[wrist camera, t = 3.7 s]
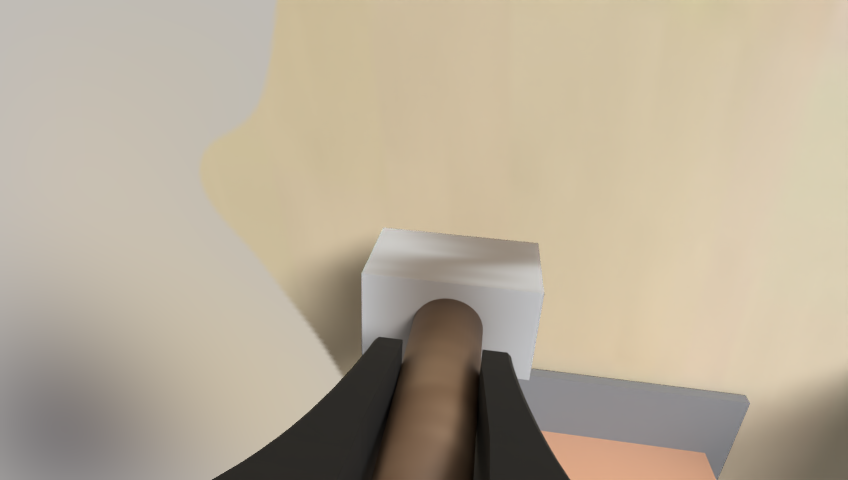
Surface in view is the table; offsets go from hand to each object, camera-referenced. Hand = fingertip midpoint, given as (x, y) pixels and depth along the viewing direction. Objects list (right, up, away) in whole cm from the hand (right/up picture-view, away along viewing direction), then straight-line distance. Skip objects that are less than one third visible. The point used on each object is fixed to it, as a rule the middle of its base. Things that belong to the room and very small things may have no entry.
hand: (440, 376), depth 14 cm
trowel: (+1, +2, +4) cm, 5 cm away
